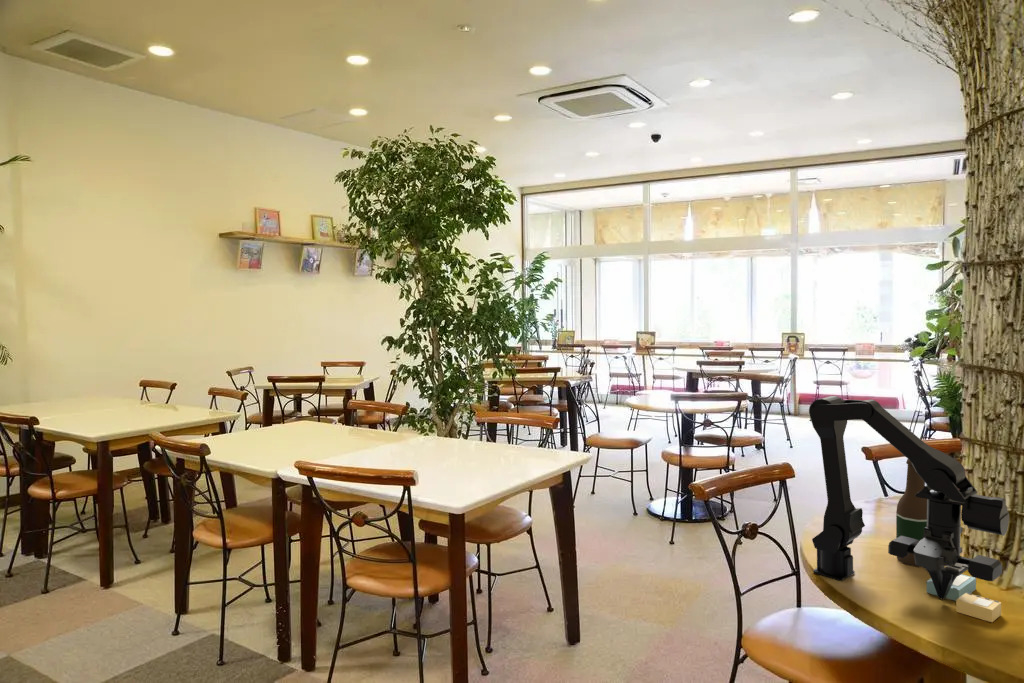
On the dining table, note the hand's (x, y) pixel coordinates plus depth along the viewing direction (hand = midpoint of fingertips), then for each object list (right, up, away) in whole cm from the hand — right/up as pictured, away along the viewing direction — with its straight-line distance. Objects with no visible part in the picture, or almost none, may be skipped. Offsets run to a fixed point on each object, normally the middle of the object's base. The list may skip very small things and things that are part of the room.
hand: (942, 598), depth 139 cm
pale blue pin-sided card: (+5, 0, +5) cm, 8 cm away
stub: (+4, -1, -5) cm, 6 cm away
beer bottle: (+7, 0, +21) cm, 23 cm away
